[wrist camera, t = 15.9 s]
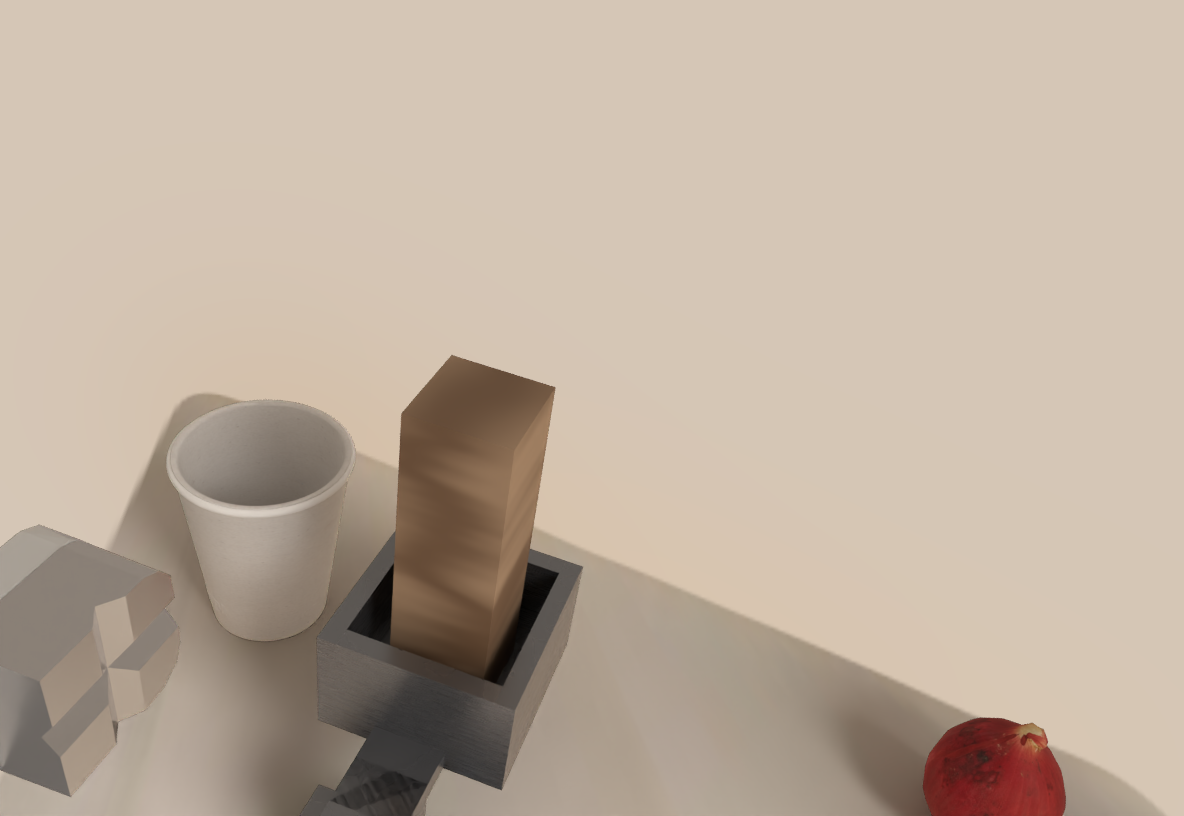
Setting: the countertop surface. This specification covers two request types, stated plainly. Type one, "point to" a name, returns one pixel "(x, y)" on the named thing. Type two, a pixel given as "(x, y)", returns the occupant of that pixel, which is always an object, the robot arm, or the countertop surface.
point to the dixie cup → (263, 510)
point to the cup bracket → (431, 694)
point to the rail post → (467, 514)
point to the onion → (993, 771)
